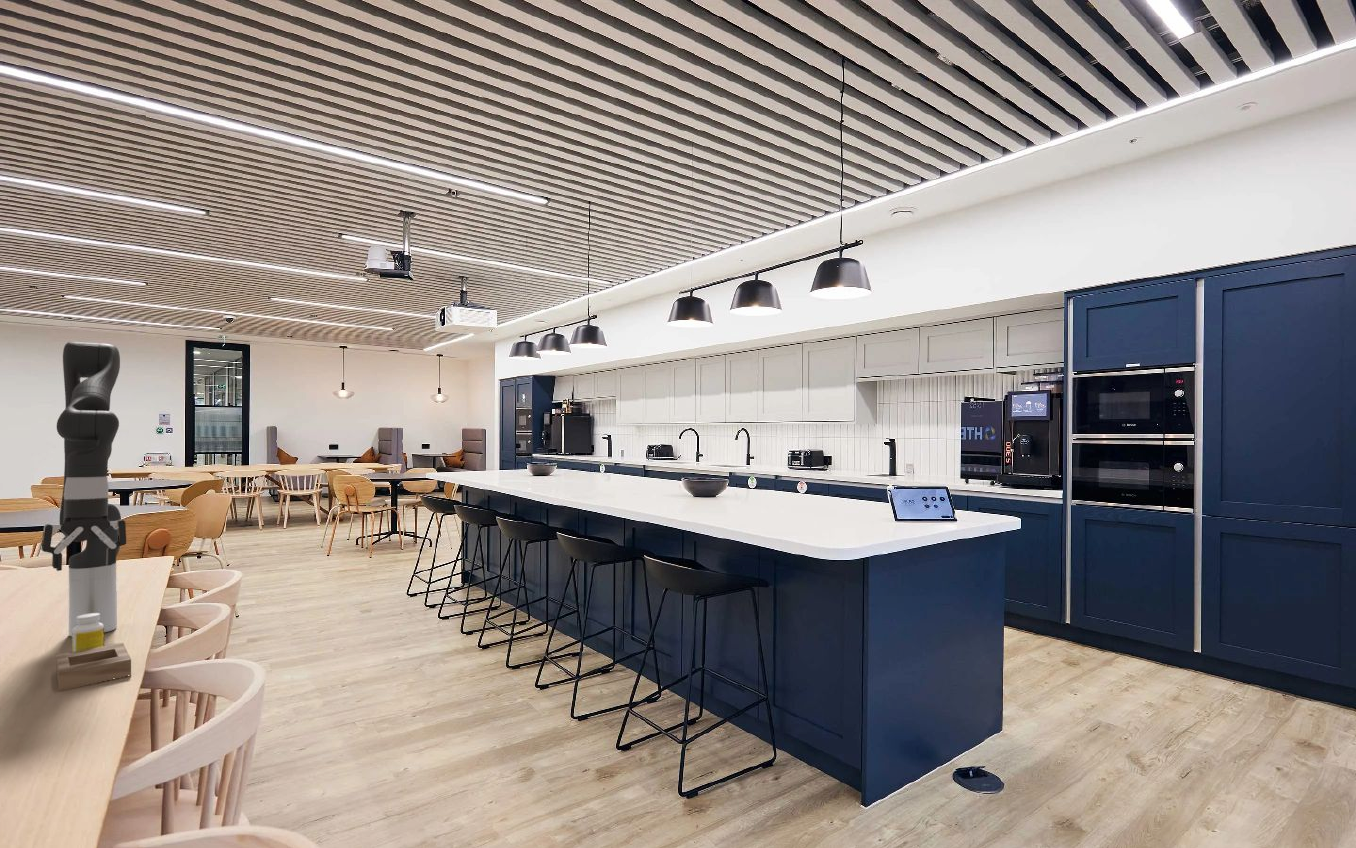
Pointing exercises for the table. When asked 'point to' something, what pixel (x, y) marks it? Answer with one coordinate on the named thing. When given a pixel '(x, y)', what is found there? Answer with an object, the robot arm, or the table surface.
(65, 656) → the well block
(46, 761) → the table surface
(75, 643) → the supplement bottle
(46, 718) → the table surface
